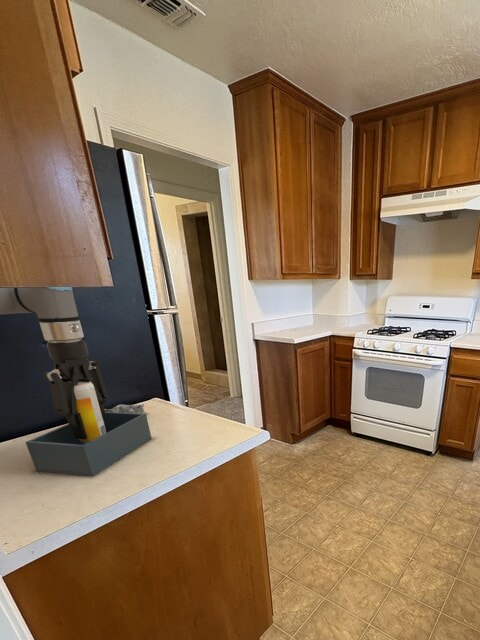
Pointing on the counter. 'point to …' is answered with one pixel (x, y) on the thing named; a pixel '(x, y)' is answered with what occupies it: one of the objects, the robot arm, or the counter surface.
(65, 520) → the counter surface
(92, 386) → the beer can
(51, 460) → the tub
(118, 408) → the egg carton
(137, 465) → the counter surface
